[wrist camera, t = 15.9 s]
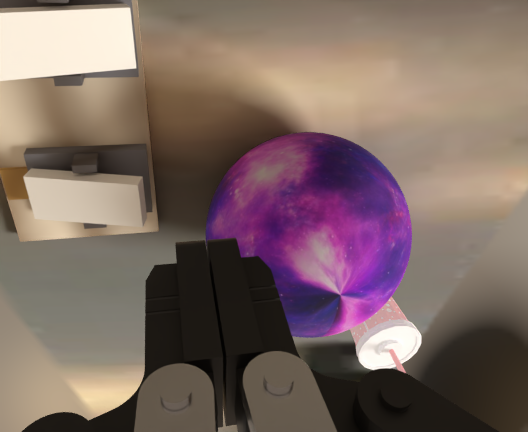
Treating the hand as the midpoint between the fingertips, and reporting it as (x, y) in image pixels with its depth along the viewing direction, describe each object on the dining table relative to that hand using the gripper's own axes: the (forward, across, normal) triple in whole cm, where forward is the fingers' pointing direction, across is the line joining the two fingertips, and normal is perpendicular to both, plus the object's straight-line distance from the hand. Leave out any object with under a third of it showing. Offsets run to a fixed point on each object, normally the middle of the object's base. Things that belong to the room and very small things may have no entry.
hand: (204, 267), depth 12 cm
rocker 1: (+22, +6, 0) cm, 23 cm away
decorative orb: (+25, -9, +13) cm, 30 cm away
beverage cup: (+25, -18, +26) cm, 40 cm away
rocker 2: (+22, +6, +11) cm, 25 cm away
